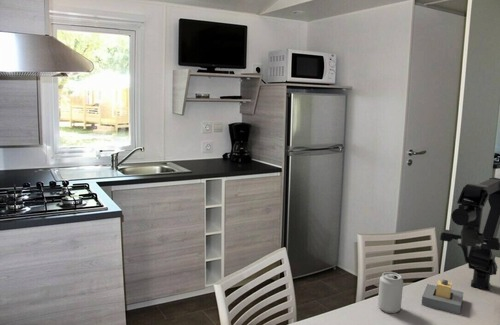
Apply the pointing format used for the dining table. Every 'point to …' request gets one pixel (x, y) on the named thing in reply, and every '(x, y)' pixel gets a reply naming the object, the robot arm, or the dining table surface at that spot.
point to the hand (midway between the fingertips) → (467, 262)
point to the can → (390, 292)
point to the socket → (442, 300)
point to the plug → (443, 289)
